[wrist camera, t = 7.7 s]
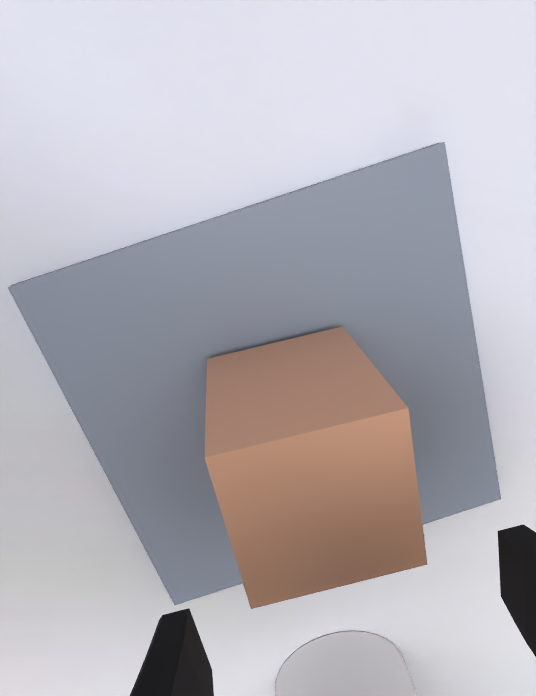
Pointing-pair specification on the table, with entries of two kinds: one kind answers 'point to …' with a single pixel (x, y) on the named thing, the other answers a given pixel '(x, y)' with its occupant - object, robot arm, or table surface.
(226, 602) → the table surface
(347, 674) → the cylindrical container
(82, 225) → the table surface
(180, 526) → the flat grey square board
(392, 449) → the tan rectangular block
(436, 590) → the table surface
